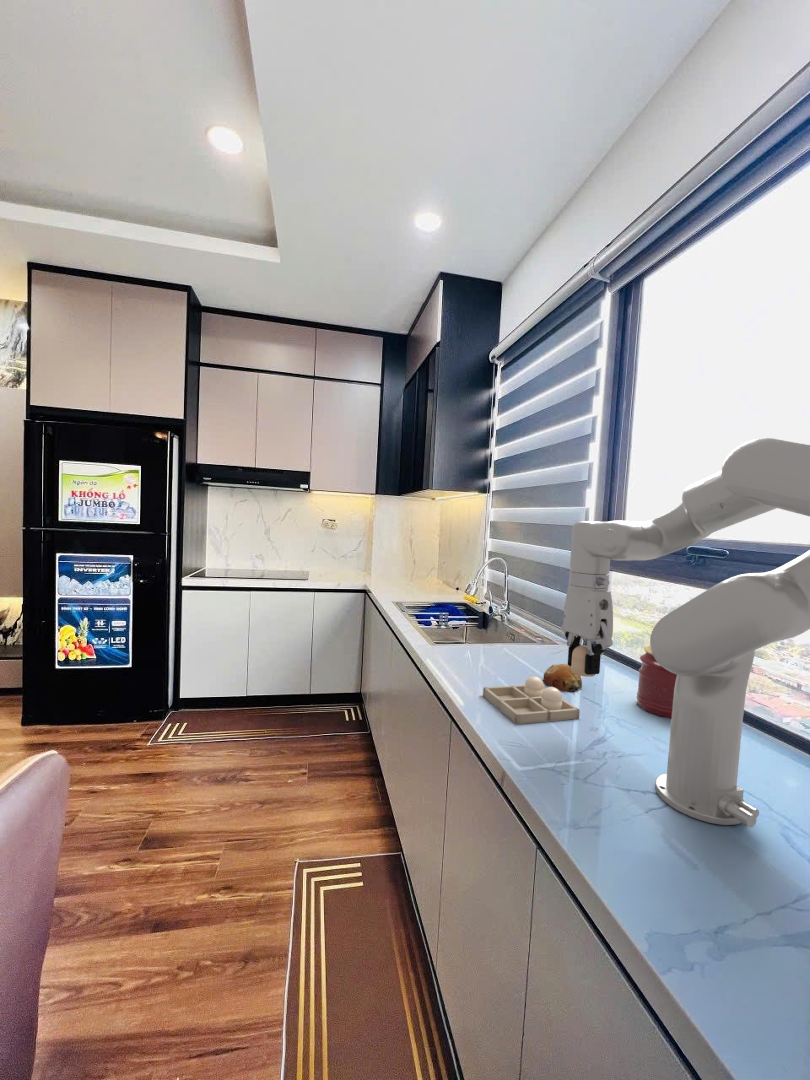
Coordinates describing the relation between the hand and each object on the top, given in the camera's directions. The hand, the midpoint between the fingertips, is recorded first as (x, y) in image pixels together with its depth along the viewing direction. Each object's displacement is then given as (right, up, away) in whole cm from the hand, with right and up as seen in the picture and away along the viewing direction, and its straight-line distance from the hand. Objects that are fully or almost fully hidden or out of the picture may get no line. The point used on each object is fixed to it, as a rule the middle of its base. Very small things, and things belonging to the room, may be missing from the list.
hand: (583, 668), depth 94 cm
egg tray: (-7, -14, +15) cm, 21 cm away
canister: (+28, -16, +19) cm, 37 cm away
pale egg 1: (-5, -13, +19) cm, 24 cm away
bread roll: (+6, -14, +31) cm, 35 cm away
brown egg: (0, -1, 0) cm, 1 cm away
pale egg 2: (-3, -13, +12) cm, 18 cm away
